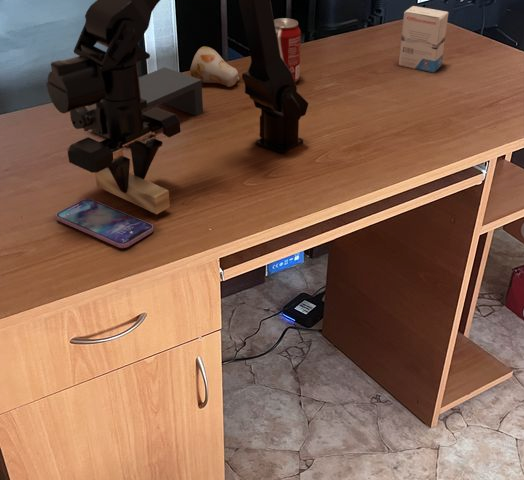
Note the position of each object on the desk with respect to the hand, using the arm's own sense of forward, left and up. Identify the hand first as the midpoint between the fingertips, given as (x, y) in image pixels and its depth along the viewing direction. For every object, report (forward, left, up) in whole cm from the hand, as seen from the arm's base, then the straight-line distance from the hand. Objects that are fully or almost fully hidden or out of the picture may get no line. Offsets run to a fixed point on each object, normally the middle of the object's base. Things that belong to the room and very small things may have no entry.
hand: (131, 188), depth 126 cm
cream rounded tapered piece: (+23, -46, -3) cm, 52 cm away
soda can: (+13, -56, -3) cm, 58 cm away
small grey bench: (+20, -23, -2) cm, 31 cm away
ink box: (-5, -82, -3) cm, 82 cm away
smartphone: (-2, +8, -3) cm, 9 cm away
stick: (0, 0, -2) cm, 2 cm away
